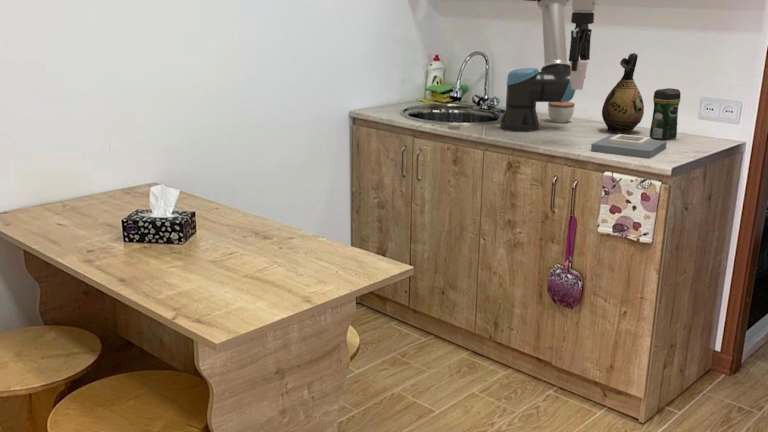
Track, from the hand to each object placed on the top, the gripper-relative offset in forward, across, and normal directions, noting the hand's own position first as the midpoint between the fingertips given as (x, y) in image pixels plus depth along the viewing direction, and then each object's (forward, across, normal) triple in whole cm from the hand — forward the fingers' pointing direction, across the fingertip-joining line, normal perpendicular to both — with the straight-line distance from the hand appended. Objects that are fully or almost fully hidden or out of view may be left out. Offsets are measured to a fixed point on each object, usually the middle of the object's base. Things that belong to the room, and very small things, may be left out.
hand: (577, 79), depth 271 cm
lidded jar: (+23, +41, +21) cm, 52 cm away
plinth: (+23, +1, -20) cm, 30 cm away
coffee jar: (+23, +29, -24) cm, 44 cm away
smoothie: (+4, 0, 0) cm, 4 cm away
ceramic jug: (+23, +34, -7) cm, 42 cm away
